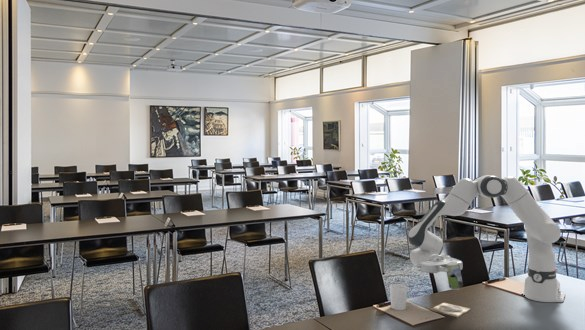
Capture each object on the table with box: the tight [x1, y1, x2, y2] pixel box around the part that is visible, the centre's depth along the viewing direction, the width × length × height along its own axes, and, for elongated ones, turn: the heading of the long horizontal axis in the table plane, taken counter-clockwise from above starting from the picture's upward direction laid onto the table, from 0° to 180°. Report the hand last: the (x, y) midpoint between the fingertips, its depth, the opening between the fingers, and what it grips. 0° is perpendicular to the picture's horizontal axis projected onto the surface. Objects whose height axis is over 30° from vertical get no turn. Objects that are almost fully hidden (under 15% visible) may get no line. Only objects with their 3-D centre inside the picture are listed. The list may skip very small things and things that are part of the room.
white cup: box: [389, 283, 408, 311], centre depth 220 cm, size 8×8×10 cm
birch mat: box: [429, 302, 472, 318], centre depth 216 cm, size 13×13×1 cm
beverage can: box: [446, 262, 464, 291], centre depth 217 cm, size 6×7×12 cm
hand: (451, 270), depth 215 cm, fingers closed on beverage can, 3 cm apart
